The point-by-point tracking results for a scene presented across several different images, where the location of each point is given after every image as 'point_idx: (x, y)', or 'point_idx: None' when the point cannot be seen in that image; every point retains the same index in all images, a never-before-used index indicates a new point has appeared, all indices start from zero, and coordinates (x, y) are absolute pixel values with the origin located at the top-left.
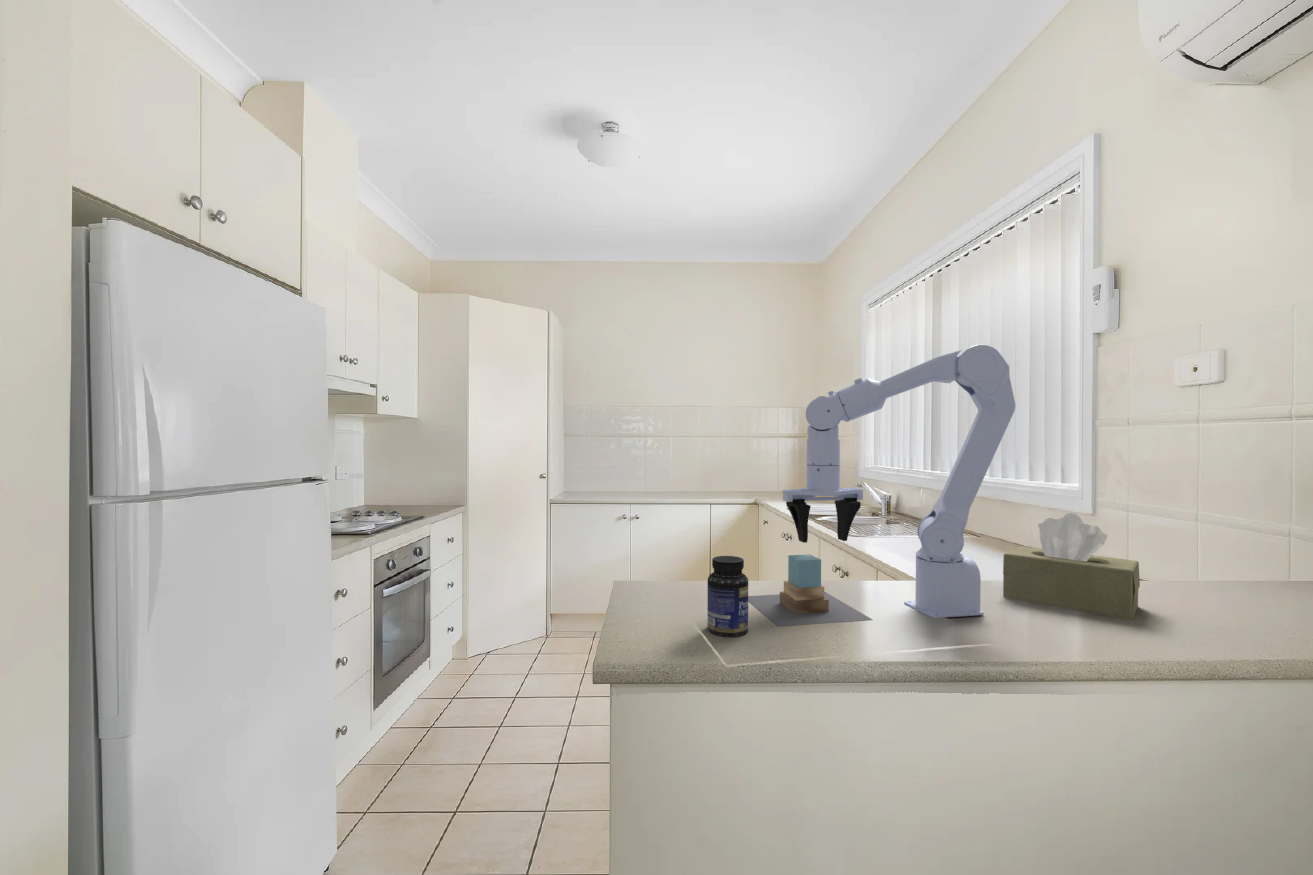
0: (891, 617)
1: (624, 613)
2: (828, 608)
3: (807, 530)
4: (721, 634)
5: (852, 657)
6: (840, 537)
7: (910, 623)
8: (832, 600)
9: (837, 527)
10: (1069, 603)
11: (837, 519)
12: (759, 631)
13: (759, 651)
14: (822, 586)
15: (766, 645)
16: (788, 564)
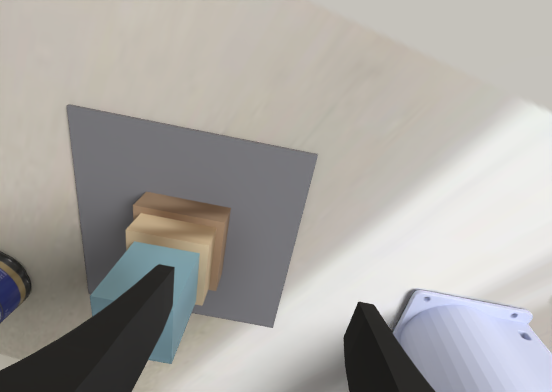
0: (323, 322)
1: None
2: (220, 277)
3: (144, 363)
4: None
5: (152, 388)
6: (352, 328)
7: (327, 348)
8: (281, 221)
9: (376, 341)
10: None
11: (394, 382)
12: (55, 289)
13: (35, 340)
14: (200, 301)
15: (51, 330)
16: (107, 274)
